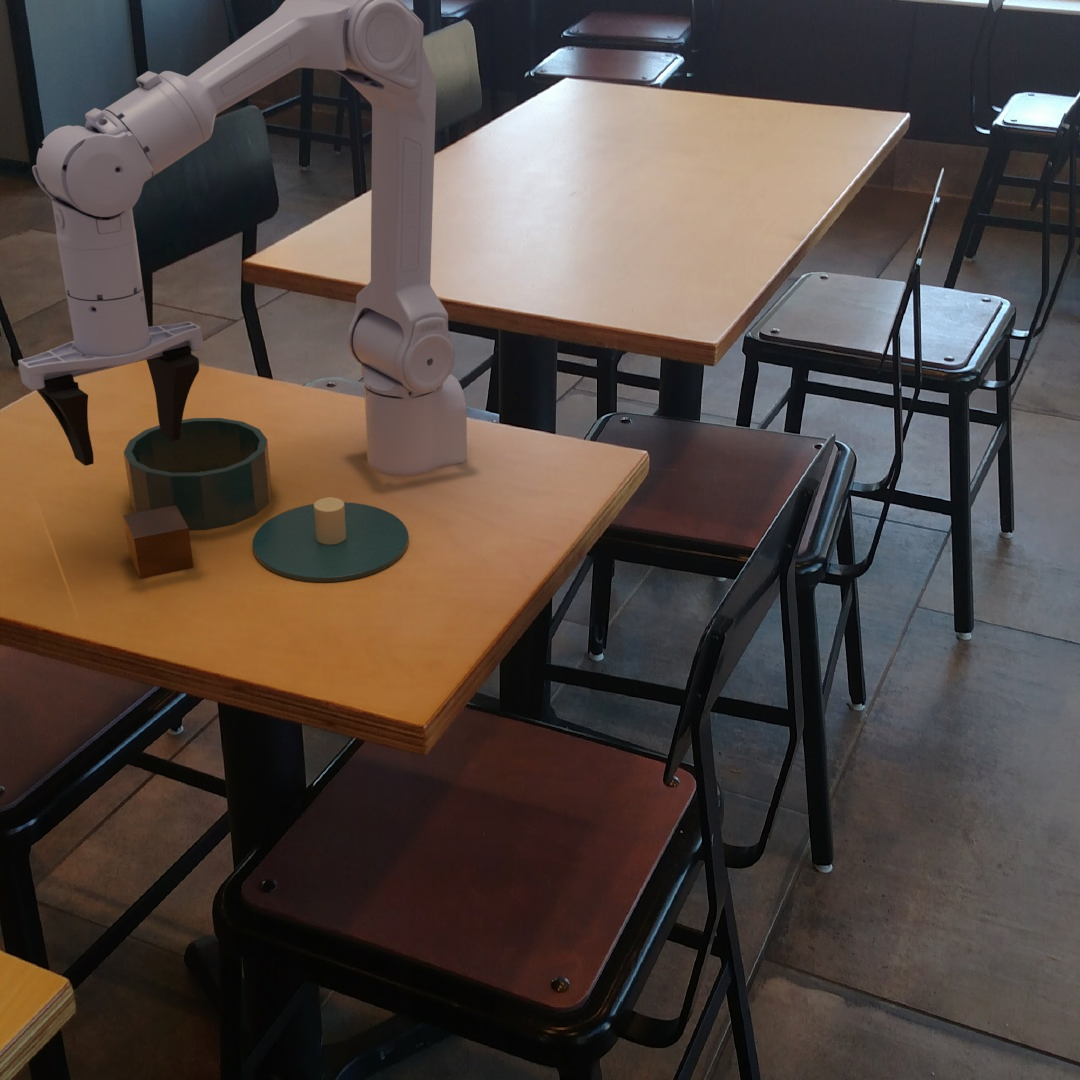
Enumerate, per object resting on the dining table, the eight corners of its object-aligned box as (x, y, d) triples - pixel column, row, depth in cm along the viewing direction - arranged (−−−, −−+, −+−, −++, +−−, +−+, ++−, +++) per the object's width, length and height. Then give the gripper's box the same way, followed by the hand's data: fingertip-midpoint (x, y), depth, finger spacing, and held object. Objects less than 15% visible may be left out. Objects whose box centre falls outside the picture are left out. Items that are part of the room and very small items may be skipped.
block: (182, 549, 108) (176, 504, 106) (194, 573, 105) (188, 527, 103) (130, 560, 107) (123, 514, 104) (141, 584, 103) (133, 538, 101)
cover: (376, 501, 117) (374, 459, 115) (432, 567, 107) (431, 522, 105) (235, 530, 112) (230, 486, 109) (280, 602, 101) (275, 556, 99)
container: (250, 464, 123) (244, 409, 120) (288, 518, 114) (283, 460, 111) (121, 487, 118) (112, 430, 115) (149, 547, 109) (141, 486, 106)
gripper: (166, 260, 104) (184, 411, 111) (-9, 294, 95) (22, 455, 102) (208, 281, 99) (225, 437, 106) (28, 319, 91) (59, 485, 97)
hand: (128, 448), depth 104 cm, fingers open, 7 cm apart
